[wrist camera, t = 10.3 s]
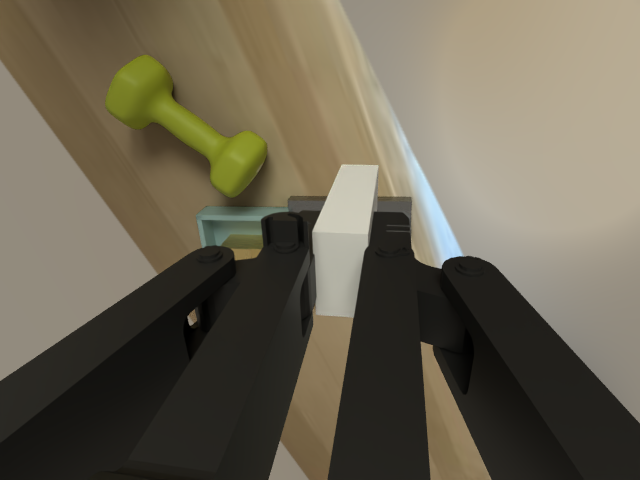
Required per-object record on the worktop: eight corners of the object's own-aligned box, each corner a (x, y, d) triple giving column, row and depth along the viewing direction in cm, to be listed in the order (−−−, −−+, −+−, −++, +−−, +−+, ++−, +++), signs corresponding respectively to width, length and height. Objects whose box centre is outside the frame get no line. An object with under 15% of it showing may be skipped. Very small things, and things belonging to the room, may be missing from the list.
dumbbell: (131, 108, 47) (88, 117, 41) (158, 46, 44) (116, 46, 37) (247, 192, 49) (224, 214, 43) (282, 140, 46) (262, 155, 39)
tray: (206, 206, 51) (195, 215, 48) (291, 207, 49) (285, 216, 46) (220, 283, 55) (211, 294, 53) (298, 286, 53) (293, 299, 51)
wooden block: (230, 234, 51) (217, 248, 48) (260, 234, 51) (250, 249, 47) (235, 262, 53) (223, 277, 49) (264, 263, 52) (254, 279, 49)
